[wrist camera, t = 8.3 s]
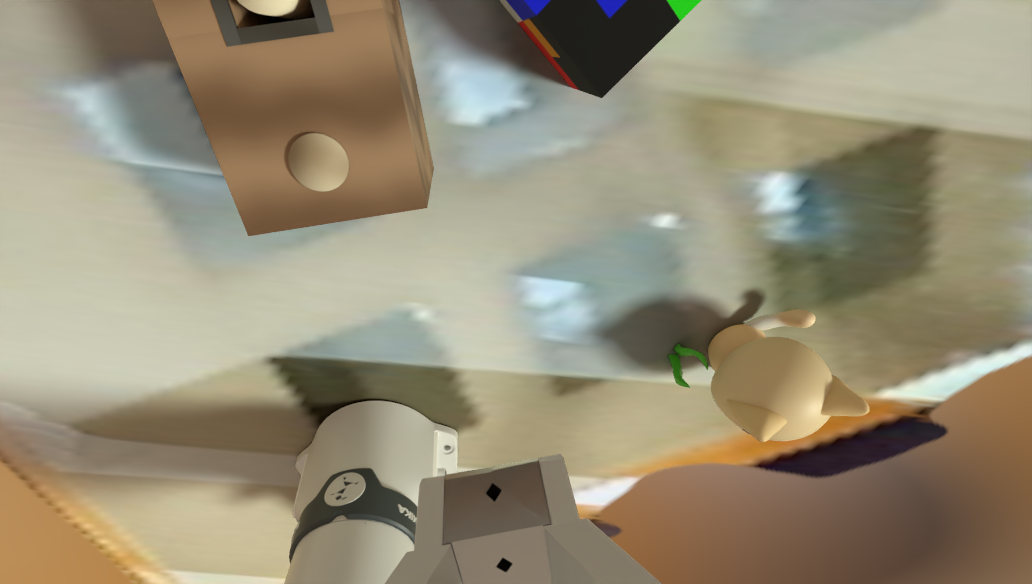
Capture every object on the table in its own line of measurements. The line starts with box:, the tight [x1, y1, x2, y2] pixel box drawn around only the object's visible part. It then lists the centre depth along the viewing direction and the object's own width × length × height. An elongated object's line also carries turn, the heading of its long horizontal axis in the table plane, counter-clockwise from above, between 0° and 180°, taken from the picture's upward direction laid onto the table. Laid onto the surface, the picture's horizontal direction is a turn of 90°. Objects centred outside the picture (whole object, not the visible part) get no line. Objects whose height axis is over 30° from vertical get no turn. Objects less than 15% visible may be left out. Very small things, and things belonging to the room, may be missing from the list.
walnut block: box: [152, 0, 434, 236], centre depth 34 cm, size 18×12×12 cm, turn 7°
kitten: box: [668, 309, 869, 442], centre depth 50 cm, size 15×10×15 cm
